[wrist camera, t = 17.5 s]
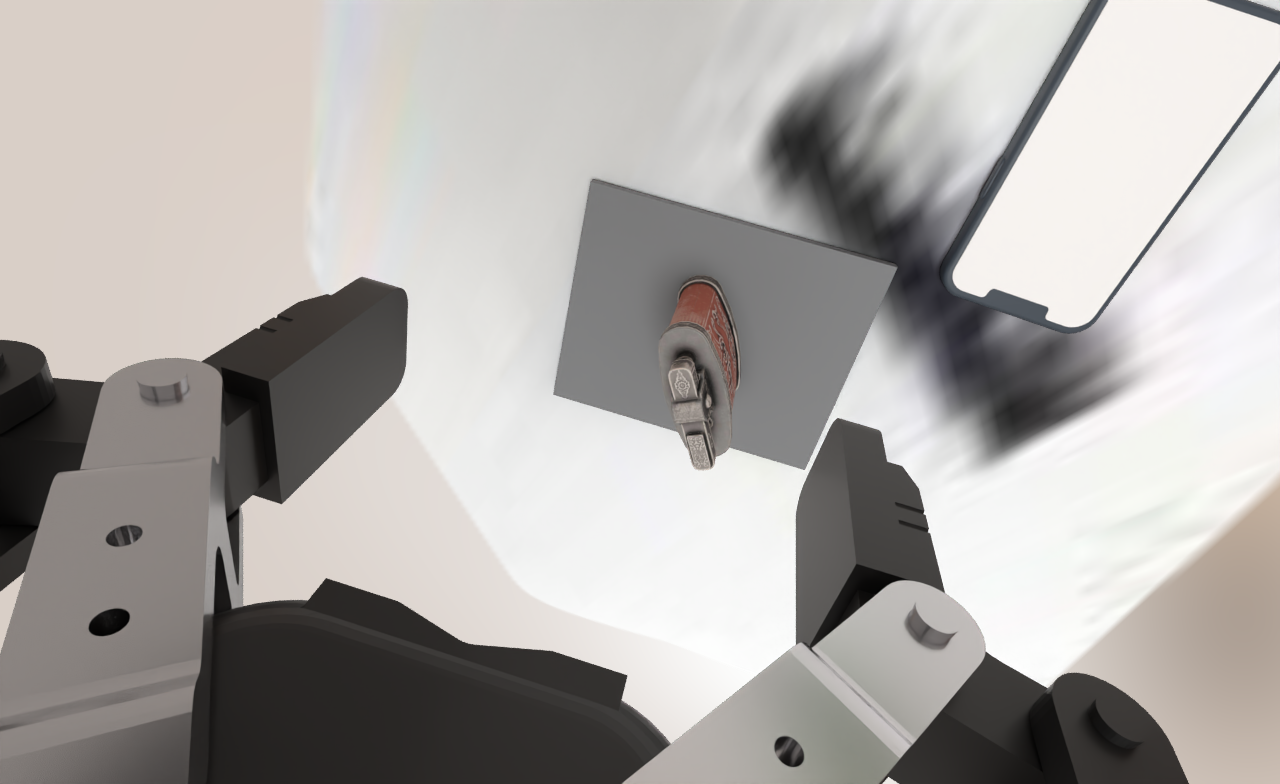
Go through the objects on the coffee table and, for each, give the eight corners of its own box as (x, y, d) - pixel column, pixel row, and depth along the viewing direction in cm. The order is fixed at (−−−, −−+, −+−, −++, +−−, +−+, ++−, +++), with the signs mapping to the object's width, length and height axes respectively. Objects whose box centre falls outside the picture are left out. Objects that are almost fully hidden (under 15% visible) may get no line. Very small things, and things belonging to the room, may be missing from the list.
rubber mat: (593, 179, 39) (590, 181, 38) (896, 263, 38) (897, 267, 37) (556, 390, 47) (553, 394, 46) (804, 464, 46) (804, 469, 45)
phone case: (1105, -41, 30) (927, 279, 38) (1120, -44, 28) (932, 289, 37) (1295, 22, 30) (1075, 330, 38) (1320, 23, 28) (1086, 342, 37)
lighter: (669, 280, 40) (636, 355, 32) (724, 269, 39) (705, 344, 31) (698, 393, 44) (675, 488, 35) (749, 387, 43) (738, 482, 34)
